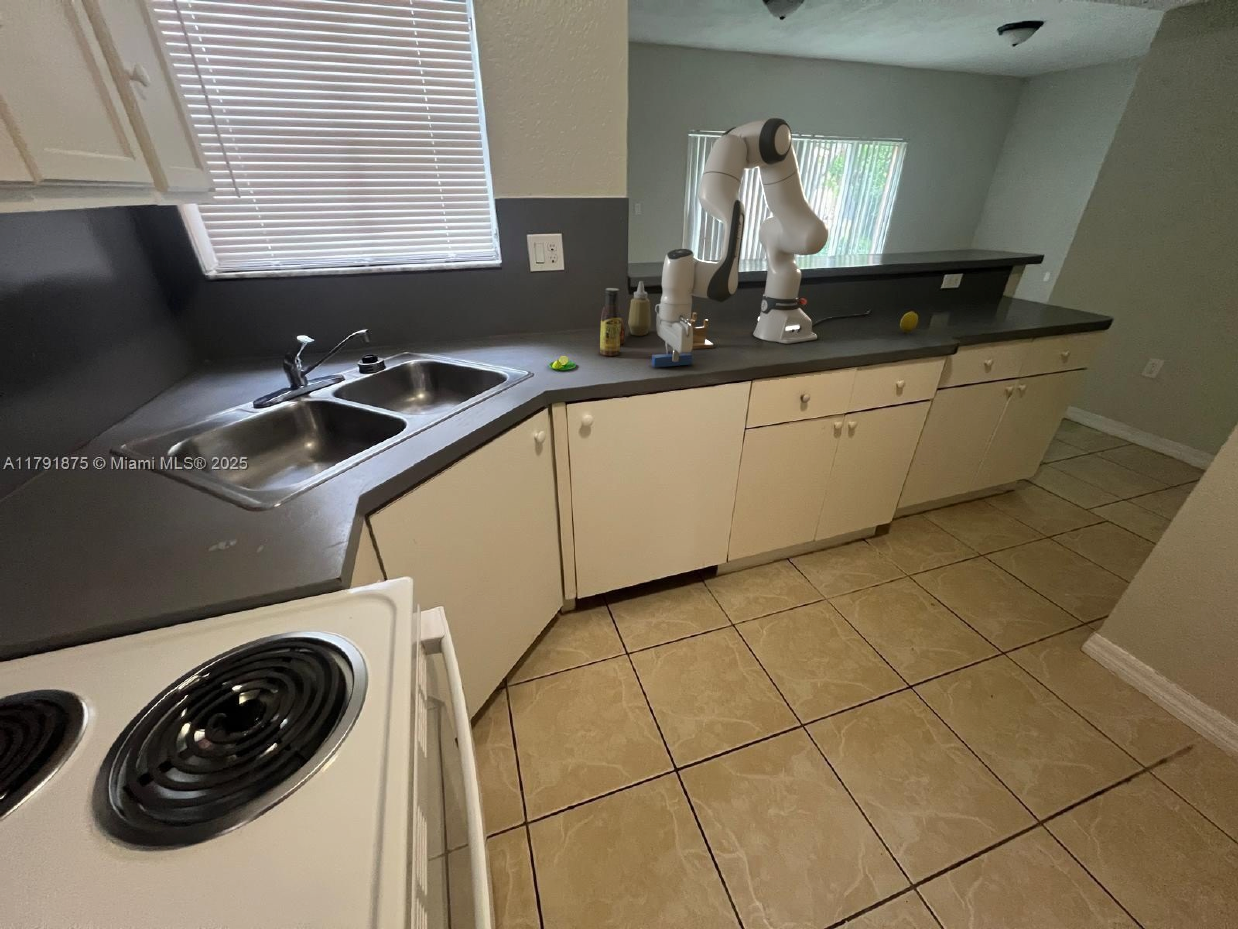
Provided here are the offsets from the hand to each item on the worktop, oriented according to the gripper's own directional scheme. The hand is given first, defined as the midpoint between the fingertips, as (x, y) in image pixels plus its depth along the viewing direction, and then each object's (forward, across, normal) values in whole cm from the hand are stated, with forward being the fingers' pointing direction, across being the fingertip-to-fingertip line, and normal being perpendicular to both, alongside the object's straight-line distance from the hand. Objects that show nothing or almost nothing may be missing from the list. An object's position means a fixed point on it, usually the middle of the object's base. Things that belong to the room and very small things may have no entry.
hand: (672, 358), depth 145 cm
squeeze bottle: (+2, +35, -1) cm, 35 cm away
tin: (+2, +28, +10) cm, 30 cm away
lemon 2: (+2, +6, +32) cm, 33 cm away
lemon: (+3, +16, -101) cm, 102 cm away
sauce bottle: (+2, +15, +15) cm, 21 cm away
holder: (+2, +22, -16) cm, 27 cm away
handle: (+2, 0, 0) cm, 2 cm away
